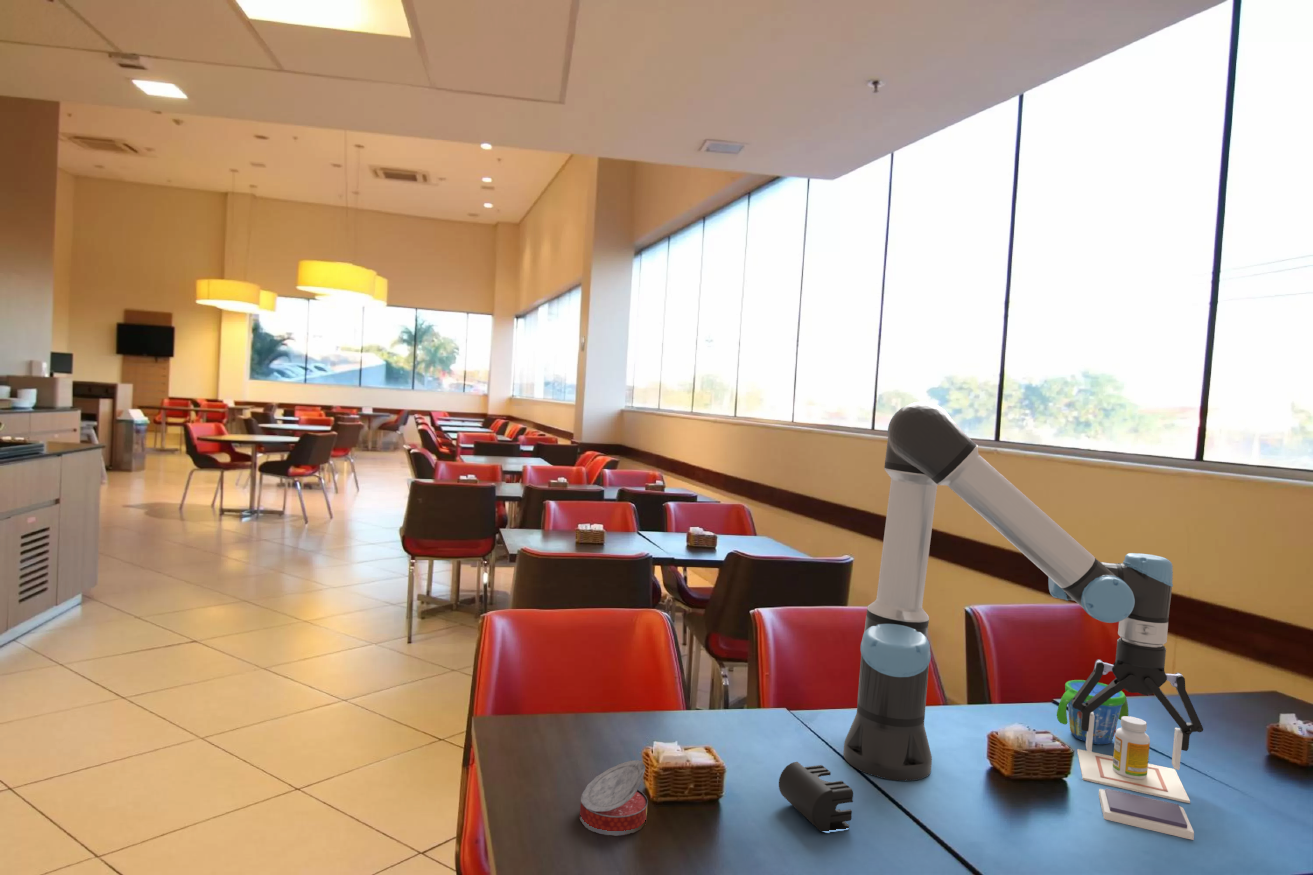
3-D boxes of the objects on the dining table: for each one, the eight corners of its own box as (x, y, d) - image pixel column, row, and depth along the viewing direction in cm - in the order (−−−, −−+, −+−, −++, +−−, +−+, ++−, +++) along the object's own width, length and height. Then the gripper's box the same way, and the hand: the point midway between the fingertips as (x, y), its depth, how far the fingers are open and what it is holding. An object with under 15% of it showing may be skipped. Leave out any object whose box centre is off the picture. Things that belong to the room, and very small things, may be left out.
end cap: (776, 805, 125) (779, 762, 125) (815, 799, 128) (818, 758, 127) (811, 838, 116) (814, 792, 116) (852, 832, 118) (855, 787, 118)
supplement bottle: (1152, 776, 144) (1157, 722, 144) (1137, 782, 141) (1142, 727, 141) (1121, 764, 148) (1126, 712, 148) (1106, 769, 145) (1110, 717, 145)
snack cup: (1073, 749, 155) (1077, 697, 154) (1038, 727, 165) (1043, 678, 165) (1145, 749, 157) (1149, 698, 157) (1106, 727, 168) (1111, 679, 167)
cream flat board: (1082, 779, 142) (1083, 776, 142) (1077, 750, 154) (1077, 748, 154) (1189, 803, 135) (1190, 800, 135) (1174, 771, 148) (1175, 768, 148)
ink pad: (1104, 818, 127) (1105, 807, 127) (1098, 795, 136) (1099, 784, 136) (1193, 839, 123) (1194, 828, 123) (1182, 814, 131) (1183, 803, 131)
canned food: (630, 867, 114) (628, 823, 109) (568, 841, 117) (563, 797, 112) (662, 801, 123) (661, 758, 118) (603, 779, 126) (600, 736, 121)
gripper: (1065, 633, 145) (1055, 748, 146) (1230, 659, 135) (1218, 783, 136) (1062, 624, 152) (1053, 734, 153) (1220, 648, 142) (1209, 766, 143)
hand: (1131, 757), depth 145 cm, fingers open, 13 cm apart
